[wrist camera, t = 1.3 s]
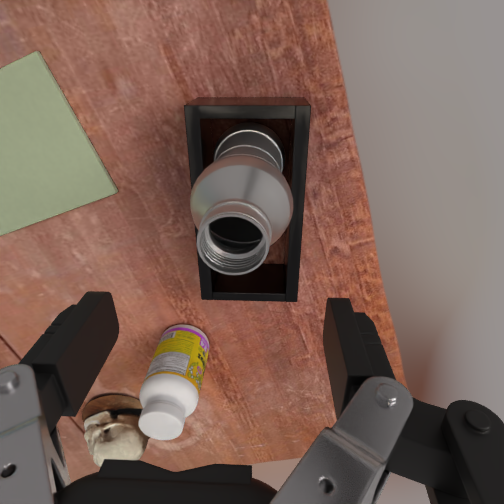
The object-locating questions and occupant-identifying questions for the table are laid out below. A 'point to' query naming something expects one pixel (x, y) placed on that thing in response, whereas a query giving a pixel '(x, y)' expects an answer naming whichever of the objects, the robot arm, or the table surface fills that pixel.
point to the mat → (43, 149)
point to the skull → (114, 428)
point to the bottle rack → (298, 110)
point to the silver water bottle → (241, 199)
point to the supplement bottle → (173, 382)
